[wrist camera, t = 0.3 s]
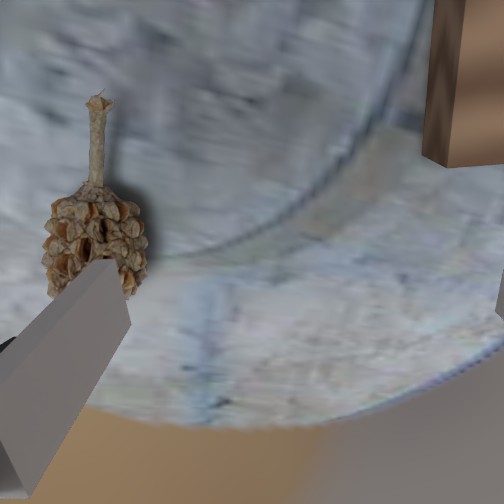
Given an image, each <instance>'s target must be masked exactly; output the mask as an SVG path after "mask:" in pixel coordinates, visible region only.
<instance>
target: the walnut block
mask: <svg viewBox="0 0 504 504" xmlns="http://www.w3.org/2000/svg"><path fill="white" fill-rule="evenodd" d="M422 155H423V156H425V157H427V158H428V159H430V160H432V161H434V162H436V163H438V164H440V165H442V166H444V167H445V168H457V167H470V166H483V165H496V164H504V0H435V5H434V17H433V29H432V40H431V52H430V64H429V75H428V87H427V99H426V111H425V122H424V134H423V146H422Z"/></svg>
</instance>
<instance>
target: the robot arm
mask: <svg viewBox="0 0 504 504" xmlns="http://www.w3.org/2000/svg"><path fill="white" fill-rule="evenodd" d="M495 312H496V313H497V314H498V315H499V316H500V317H501V318H502V319H503V320H504V270H503V275H502V279H501V284H500V289H499V294H498V299H497V304H496V309H495ZM130 326H131V321H130V317H129V313H128V309H127V305H126V301H125V297H124V293H123V289H122V285H121V281H120V277H119V273H118V269H117V265H116V261H115V259H102V260H93V261H92V262H91V263H90V264H89V265H88V266H87V267H86V268H85V269H84V270H83V271H82V272H81V273H80V274H79V275H78V276H77V277H76V278H75V279H74V280H73V281H72V282H71V283H70V284H69V285H68V286H67V287H66V288H65V289H64V290H63V291H62V292H61V293H60V294H59V295H58V296H57V297H56V298H55V299H54V300H53V301H52V302H51V303H50V304H49V305H48V306H47V307H46V308H45V309H44V310H43V311H42V312H41V313H40V314H39V315H38V316H37V317H36V318H35V319H34V320H33V321H32V322H31V323H30V324H29V325H28V326H27V327H26V328H25V329H24V330H23V331H22V332H21V333H20V334H19V335H18V336H17V337H12V338H11V339H9V340H7V341H6V342H4V343H3V344H1V345H0V498H20V499H21V498H22V499H23V498H25V499H27V498H28V499H29V498H30V496H31V495H32V493H33V491H34V490H35V488H36V486H37V484H38V483H39V481H40V479H41V478H42V476H43V474H44V472H45V471H46V469H47V467H48V466H49V464H50V462H51V461H52V459H53V457H54V455H55V454H56V452H57V450H58V449H59V447H60V445H61V443H62V442H63V440H64V438H65V437H66V435H67V433H68V431H69V430H70V428H71V426H72V425H73V423H74V421H75V420H76V418H77V416H78V415H79V413H80V411H81V409H82V408H83V406H84V404H85V403H86V401H87V399H88V398H89V396H90V394H91V392H92V391H93V389H94V387H95V386H96V384H97V382H98V381H99V379H100V377H101V375H102V374H103V372H104V370H105V369H106V367H107V365H108V363H109V362H110V360H111V358H112V357H113V355H114V353H115V352H116V350H117V348H118V346H119V345H120V343H121V341H122V340H123V338H124V336H125V335H126V333H127V331H128V329H129V328H130Z"/></svg>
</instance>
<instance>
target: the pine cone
mask: <svg viewBox="0 0 504 504" xmlns="http://www.w3.org/2000/svg"><path fill="white" fill-rule="evenodd" d="M104 90H105V89H104ZM104 90H103V91H102V92H101V93H100V94H99V95H95V96H91V99H90V101H89V102H88V103H86V104H85V105H86V106H87V107H88V108H89V117H90V134H91V135H90V151H89V170H90V173H89V178H88V181H87V182H83V183H84V185H83V186H82V187H81V188H80V189H79V191H78V192H76V193H75V194H74V195H72V196H70V197H67V198H66V197H65V198H62V199H58V200H57V201H55V202H54V203H53V204H51V207H52V218H51V219H50V220H48V221H47V223H46V224H45V226H44V228H45V229H46V230H47V231H48V232H49V233H51V236H50V237H49V238H47V240H46V241H45V243H44V244H43V246H42V247H43V248H44V249H45V250H46V253H45V254H44V256H43V259H42V262H41V263H42V264H43V265H44V267H45V268H46V269H48V270H47V273H46V274H47V277H48V280H49V284H48V291H47V294H48V295H49V296H50V297H51V298H53V299H55V298H56V297H57V296H58V295H59V294H60V293H61V292H62V291H63V290H64V289H65V288H66V287H67V286H68V285H69V284H70V283H71V282H72V281H73V280H74V279H75V278H76V277H77V276H78V275H79V274H80V273H81V272H82V271H83V270H84V269H85V268H86V267H87V266H88V265H89V264H90V263H91V262H92V261H93V260H102V259H115V261H116V265H117V269H118V273H119V277H120V281H121V285H122V289H123V293H124V297H125V300H129V298H130V296H131V295H135V293H136V290H137V288H138V287H139V286H140V285H141V284H142V283H141V280H143V279H144V278H146V277H147V273H146V269H145V266H146V264H147V260H146V258H145V256H146V254H145V252H144V250H145V248H146V247H147V246H148V241H147V238H146V237H145V236H144V234H143V232H144V223H143V222H141V221H140V220H139V219H138V218H137V217H138V216H139V214H140V208H139V207H138V205H137V204H135V203H133V202H132V201H125V200H121V199H119V198H118V197H117V196H116V195H115V194H114V193H113V192H112V190H111V189H110V188H109V187H108V186H107V185H104V156H105V154H104V141H105V138H104V130H105V124H106V115H107V113H108V112H109V111H110V110H111V108H112V107H113V106H114V101H115V100H106V99H103V98H102V97H101V95H102V93H103V92H104Z"/></svg>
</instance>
